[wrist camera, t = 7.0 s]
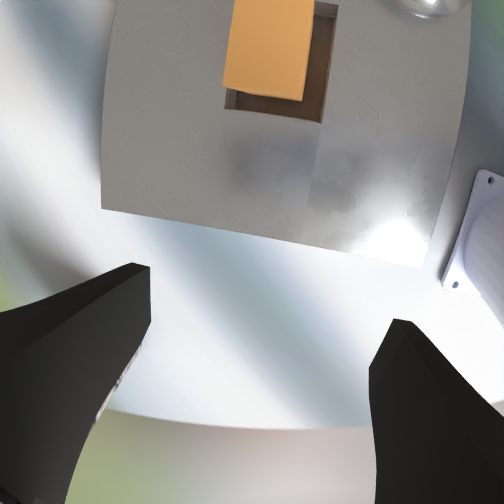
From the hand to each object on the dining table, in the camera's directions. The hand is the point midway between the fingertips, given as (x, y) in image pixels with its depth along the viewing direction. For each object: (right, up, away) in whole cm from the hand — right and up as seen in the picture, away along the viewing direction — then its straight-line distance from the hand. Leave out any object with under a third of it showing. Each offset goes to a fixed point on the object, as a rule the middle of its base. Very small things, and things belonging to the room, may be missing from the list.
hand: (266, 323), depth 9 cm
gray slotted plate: (+1, +12, +6) cm, 13 cm away
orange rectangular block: (+1, +12, +6) cm, 13 cm away
